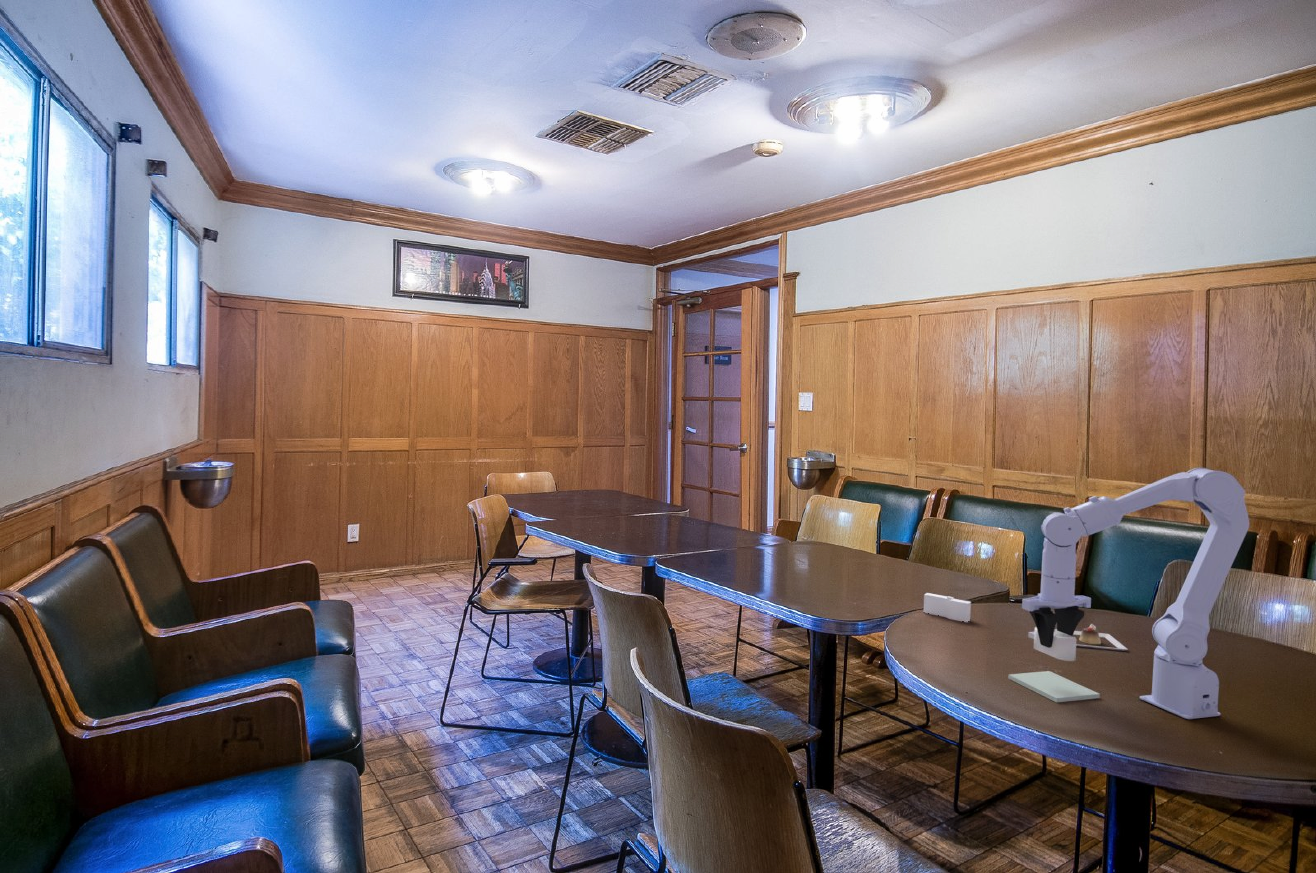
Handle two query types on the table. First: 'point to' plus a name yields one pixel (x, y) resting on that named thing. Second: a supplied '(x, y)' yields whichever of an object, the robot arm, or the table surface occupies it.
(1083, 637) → the dessert
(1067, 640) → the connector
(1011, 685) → the table surface
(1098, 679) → the table surface
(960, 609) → the white upright tiles
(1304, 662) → the table surface
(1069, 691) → the sage pad
